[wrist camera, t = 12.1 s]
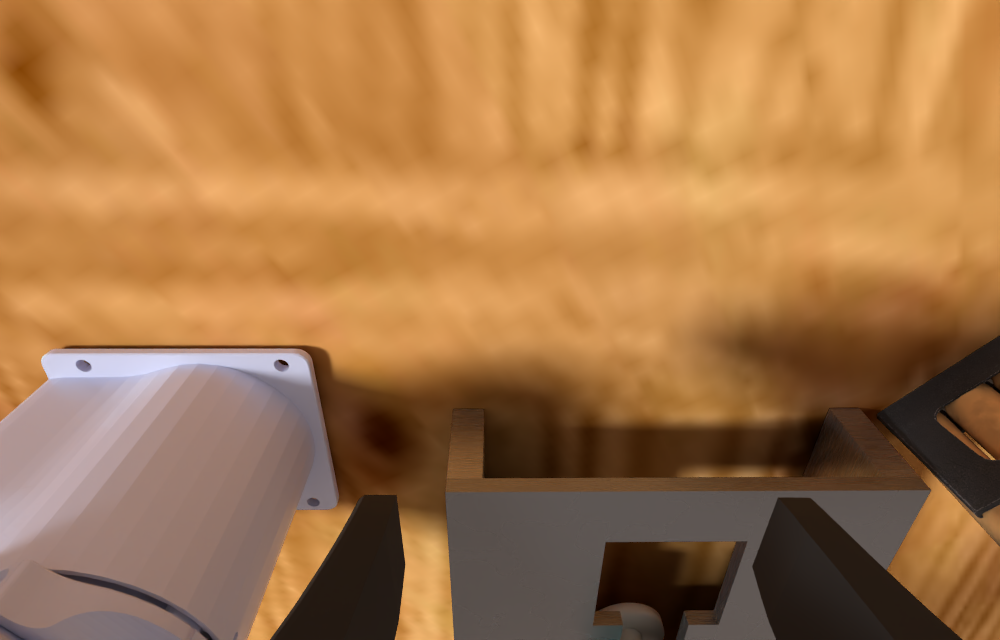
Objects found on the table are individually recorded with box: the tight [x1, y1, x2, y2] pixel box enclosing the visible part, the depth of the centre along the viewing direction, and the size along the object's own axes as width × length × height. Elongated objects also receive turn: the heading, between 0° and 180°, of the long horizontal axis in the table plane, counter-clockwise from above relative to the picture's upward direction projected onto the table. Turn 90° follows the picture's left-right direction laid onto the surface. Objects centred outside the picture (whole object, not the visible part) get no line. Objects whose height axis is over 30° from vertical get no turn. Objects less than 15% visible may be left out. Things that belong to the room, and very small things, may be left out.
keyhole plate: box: [445, 408, 931, 640], centre depth 26 cm, size 16×22×4 cm
